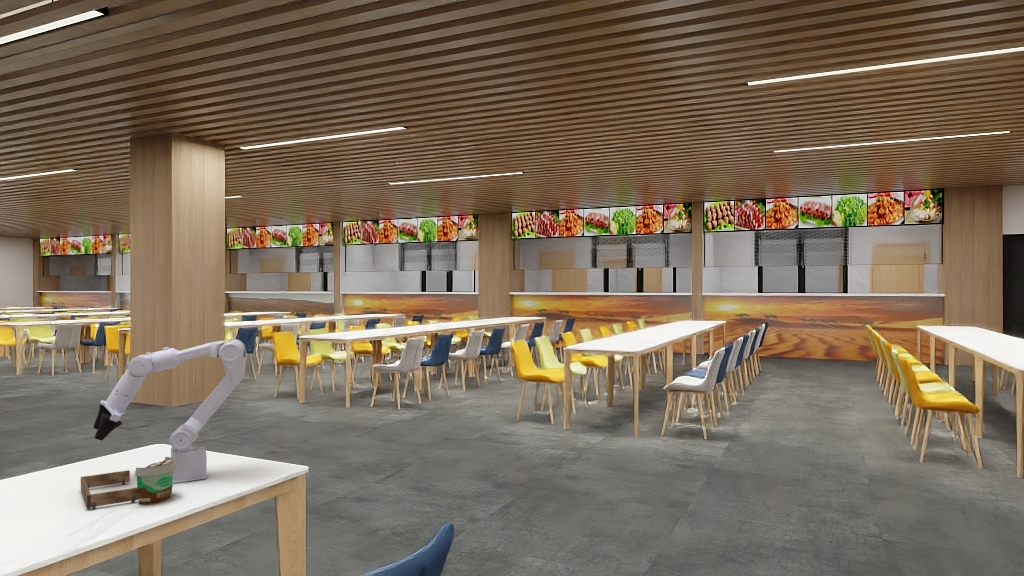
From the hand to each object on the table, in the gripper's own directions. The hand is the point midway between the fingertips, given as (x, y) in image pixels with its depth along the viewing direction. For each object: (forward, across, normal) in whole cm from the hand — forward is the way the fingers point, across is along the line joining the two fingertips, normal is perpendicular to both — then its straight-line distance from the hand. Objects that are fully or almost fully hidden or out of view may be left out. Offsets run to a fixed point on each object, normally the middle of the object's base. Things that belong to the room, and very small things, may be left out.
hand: (97, 434), depth 202 cm
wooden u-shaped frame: (+9, +17, +7) cm, 20 cm away
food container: (+2, +27, +16) cm, 32 cm away
